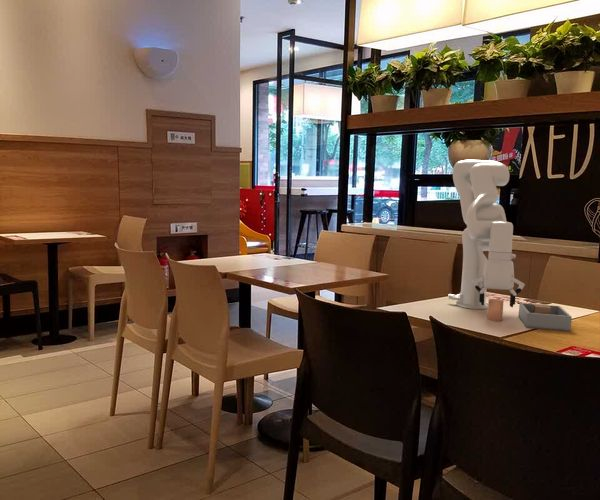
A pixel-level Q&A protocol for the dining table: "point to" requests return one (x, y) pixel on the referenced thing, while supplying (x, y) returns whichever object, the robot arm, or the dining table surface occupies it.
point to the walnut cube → (541, 309)
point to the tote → (545, 318)
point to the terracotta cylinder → (495, 309)
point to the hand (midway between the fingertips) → (496, 305)
